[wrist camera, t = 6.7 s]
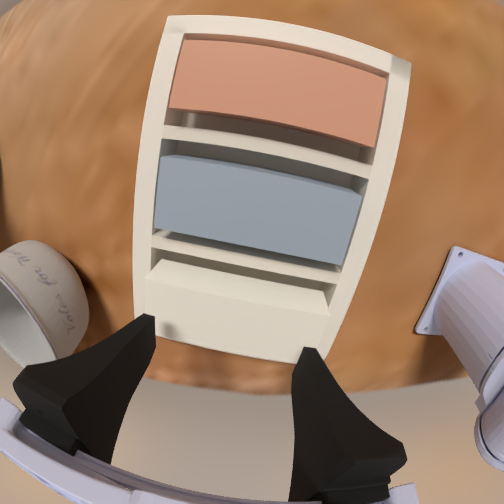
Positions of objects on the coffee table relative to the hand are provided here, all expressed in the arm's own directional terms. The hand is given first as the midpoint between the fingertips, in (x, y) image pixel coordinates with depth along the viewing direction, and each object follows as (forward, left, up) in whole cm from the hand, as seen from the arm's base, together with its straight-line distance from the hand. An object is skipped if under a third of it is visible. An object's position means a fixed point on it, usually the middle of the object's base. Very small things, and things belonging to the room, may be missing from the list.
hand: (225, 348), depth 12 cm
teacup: (+18, +4, -8) cm, 20 cm away
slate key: (0, -6, -5) cm, 8 cm away
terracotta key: (0, -12, -5) cm, 13 cm away
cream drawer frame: (0, -6, -7) cm, 9 cm away
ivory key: (0, 0, -4) cm, 4 cm away
